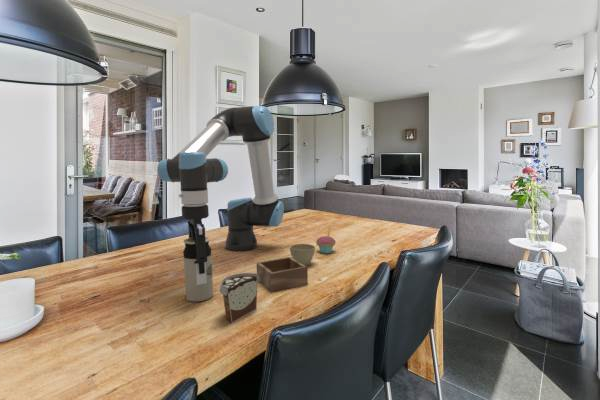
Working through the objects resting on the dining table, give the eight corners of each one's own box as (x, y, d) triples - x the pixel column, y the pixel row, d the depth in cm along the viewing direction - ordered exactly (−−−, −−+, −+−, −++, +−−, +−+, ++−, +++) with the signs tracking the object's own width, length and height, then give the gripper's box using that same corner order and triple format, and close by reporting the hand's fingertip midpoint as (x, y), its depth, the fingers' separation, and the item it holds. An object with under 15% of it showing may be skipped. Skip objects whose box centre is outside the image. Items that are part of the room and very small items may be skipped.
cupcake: (337, 250, 150) (337, 224, 148) (332, 255, 142) (332, 228, 140) (319, 248, 153) (318, 223, 151) (313, 253, 145) (313, 227, 143)
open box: (257, 279, 115) (256, 262, 114) (290, 272, 121) (290, 256, 120) (271, 292, 104) (271, 273, 103) (307, 284, 110) (307, 267, 109)
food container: (244, 302, 97) (242, 269, 95) (260, 307, 93) (259, 273, 92) (211, 319, 86) (209, 282, 85) (227, 326, 83) (225, 287, 82)
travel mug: (180, 300, 99) (176, 241, 96) (197, 290, 106) (194, 235, 104) (202, 304, 96) (198, 243, 93) (218, 293, 103) (216, 237, 101)
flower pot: (313, 269, 125) (313, 250, 124) (287, 267, 127) (287, 249, 126) (317, 261, 134) (316, 244, 134) (293, 259, 136) (292, 243, 136)
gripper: (176, 201, 105) (180, 271, 107) (187, 210, 86) (192, 293, 89) (200, 200, 108) (204, 267, 111) (216, 208, 90) (219, 288, 93)
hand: (198, 278), depth 100 cm, fingers closed on travel mug, 8 cm apart
